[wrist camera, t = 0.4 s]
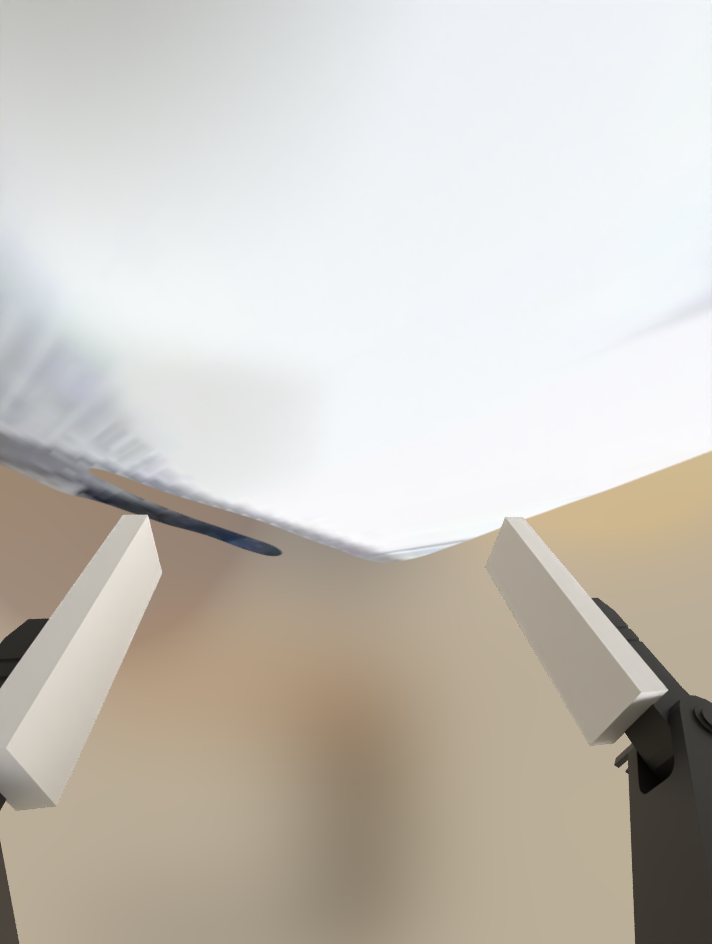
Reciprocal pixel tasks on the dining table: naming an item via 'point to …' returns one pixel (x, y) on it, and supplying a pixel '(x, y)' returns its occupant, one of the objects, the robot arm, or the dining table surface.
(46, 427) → the dining table surface
